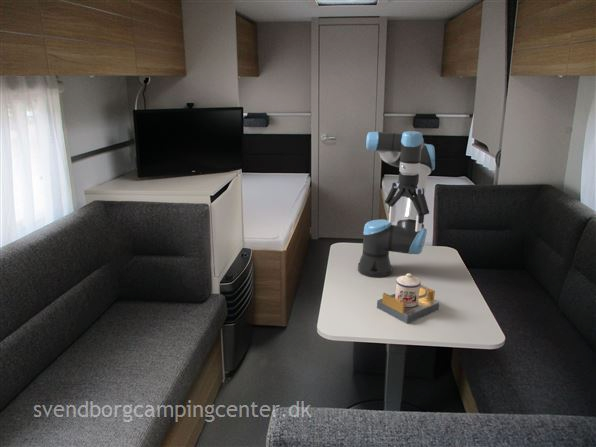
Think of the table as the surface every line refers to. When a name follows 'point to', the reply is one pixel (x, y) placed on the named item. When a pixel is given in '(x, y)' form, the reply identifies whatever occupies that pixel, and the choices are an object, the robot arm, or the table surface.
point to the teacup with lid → (409, 290)
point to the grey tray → (409, 313)
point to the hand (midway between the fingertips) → (404, 226)
